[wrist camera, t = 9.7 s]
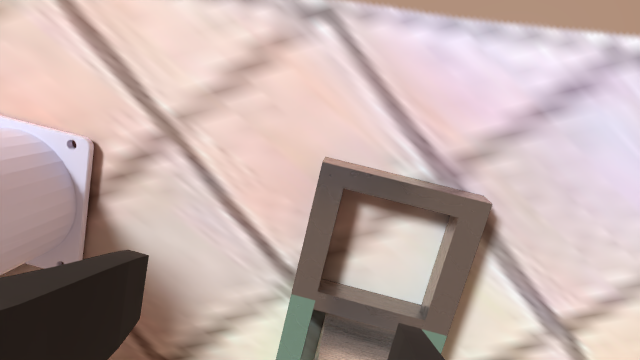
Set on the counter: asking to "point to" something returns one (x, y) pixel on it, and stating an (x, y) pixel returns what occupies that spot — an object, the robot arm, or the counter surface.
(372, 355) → the beige rectangular block
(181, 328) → the counter surface
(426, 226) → the counter surface
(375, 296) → the grey teal tray
